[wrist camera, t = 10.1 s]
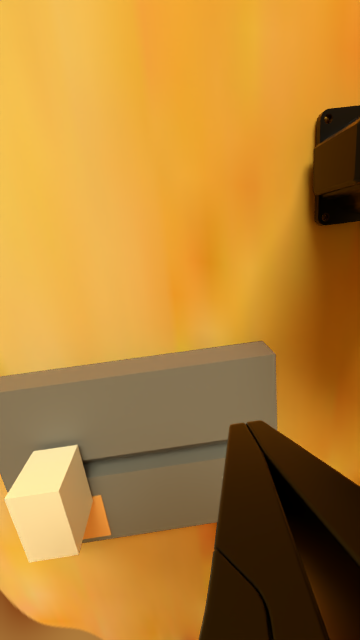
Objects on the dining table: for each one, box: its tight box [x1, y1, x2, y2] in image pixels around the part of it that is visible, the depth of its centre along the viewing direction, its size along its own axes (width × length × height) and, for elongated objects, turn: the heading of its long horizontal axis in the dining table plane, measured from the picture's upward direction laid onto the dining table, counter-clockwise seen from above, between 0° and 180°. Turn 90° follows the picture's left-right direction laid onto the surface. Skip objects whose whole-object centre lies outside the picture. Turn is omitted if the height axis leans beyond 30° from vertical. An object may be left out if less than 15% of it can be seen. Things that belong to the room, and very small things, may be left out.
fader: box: [4, 445, 93, 562], centre depth 18 cm, size 3×5×5 cm, turn 7°
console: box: [0, 341, 277, 543], centre depth 21 cm, size 20×14×3 cm
